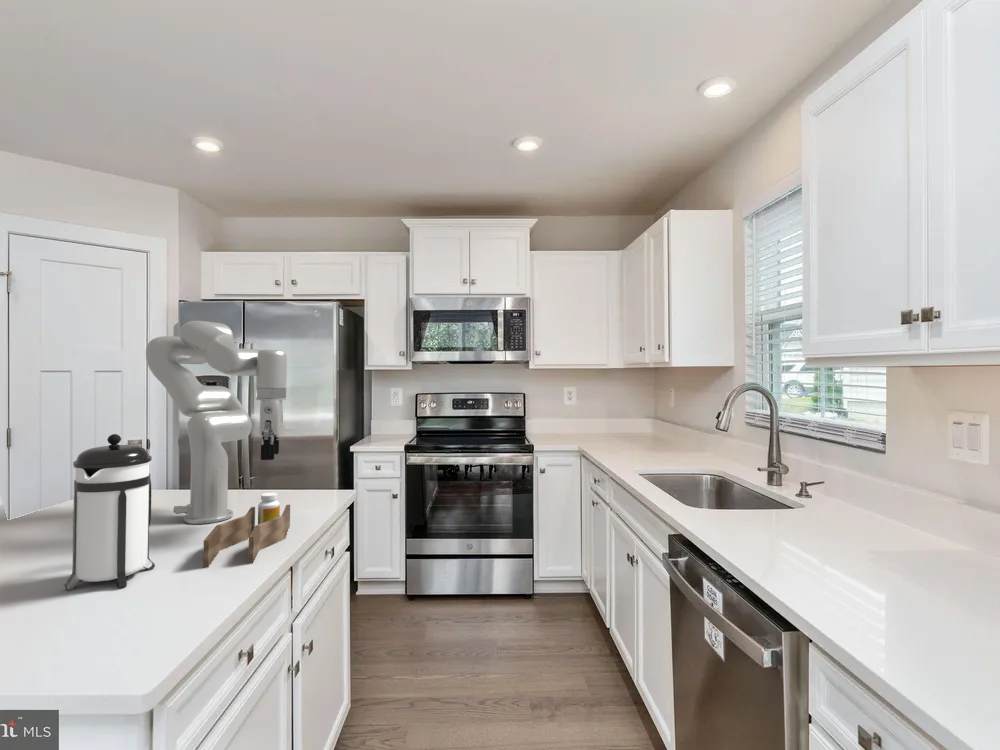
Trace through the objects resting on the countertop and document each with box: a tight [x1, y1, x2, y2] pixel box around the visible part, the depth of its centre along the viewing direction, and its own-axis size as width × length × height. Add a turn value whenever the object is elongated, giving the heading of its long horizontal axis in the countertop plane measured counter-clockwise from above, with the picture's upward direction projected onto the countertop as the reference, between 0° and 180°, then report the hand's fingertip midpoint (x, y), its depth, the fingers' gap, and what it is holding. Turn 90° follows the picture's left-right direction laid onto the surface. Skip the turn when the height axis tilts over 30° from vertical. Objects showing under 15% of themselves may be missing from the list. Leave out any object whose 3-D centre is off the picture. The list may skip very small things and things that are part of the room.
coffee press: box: [63, 433, 156, 591], centre depth 104 cm, size 17×16×30 cm
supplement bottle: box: [257, 492, 281, 525], centre depth 135 cm, size 5×5×10 cm
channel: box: [202, 504, 291, 569], centre depth 124 cm, size 15×28×6 cm, turn 18°
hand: (270, 456), depth 136 cm, fingers open, 9 cm apart
